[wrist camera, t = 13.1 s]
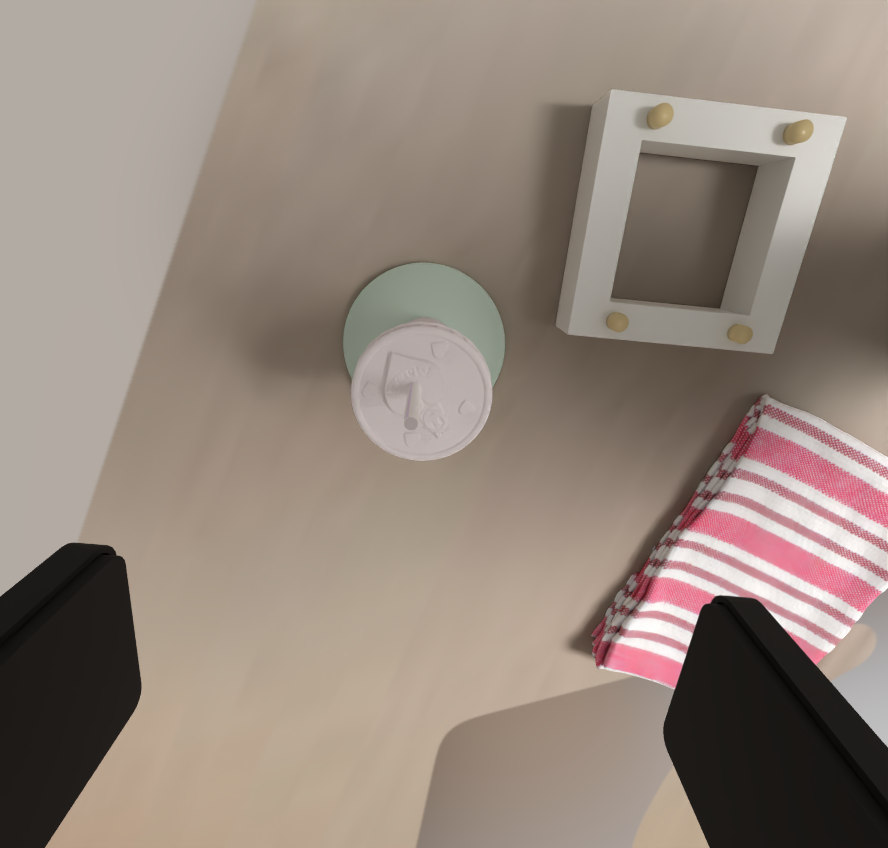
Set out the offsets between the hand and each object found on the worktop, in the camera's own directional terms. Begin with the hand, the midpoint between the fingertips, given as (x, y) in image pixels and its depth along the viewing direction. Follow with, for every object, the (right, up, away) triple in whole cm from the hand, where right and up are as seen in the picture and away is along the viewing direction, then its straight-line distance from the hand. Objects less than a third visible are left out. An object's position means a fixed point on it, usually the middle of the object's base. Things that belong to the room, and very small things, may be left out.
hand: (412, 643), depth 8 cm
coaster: (-1, +9, +24) cm, 25 cm away
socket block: (+14, +15, +22) cm, 30 cm away
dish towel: (+24, -7, +31) cm, 40 cm away
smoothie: (-1, +8, +23) cm, 25 cm away
